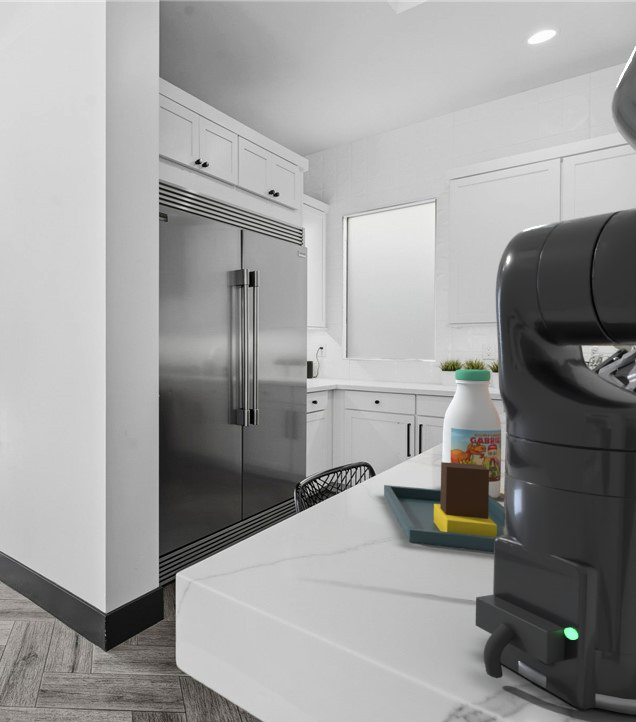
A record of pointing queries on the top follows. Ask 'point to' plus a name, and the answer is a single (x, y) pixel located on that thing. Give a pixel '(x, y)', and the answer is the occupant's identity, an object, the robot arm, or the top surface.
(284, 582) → the top surface
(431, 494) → the tray
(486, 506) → the block on yellow base
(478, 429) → the milk bottle
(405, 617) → the top surface
